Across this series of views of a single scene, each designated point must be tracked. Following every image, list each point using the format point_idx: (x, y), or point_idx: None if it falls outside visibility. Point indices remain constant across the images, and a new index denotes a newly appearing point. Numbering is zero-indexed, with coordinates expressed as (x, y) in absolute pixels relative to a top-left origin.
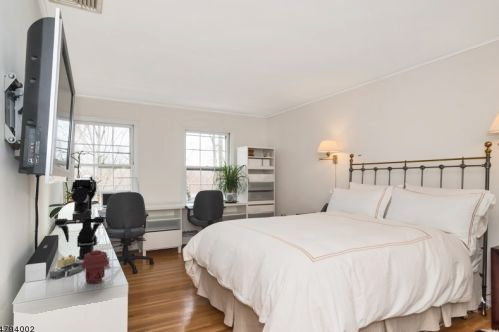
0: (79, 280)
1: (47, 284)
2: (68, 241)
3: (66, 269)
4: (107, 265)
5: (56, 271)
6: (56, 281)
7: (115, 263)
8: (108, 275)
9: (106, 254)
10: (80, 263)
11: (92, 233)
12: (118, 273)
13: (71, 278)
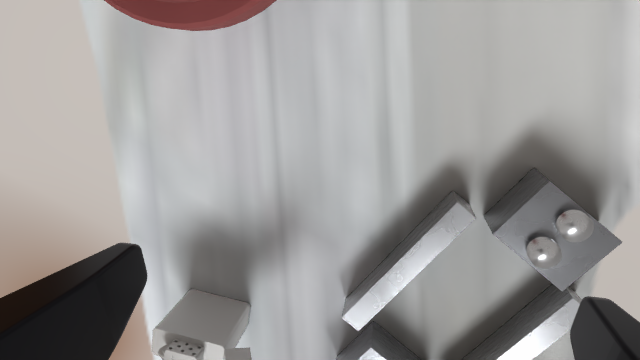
0: (370, 16)
1: (616, 24)
2: (574, 341)
3: (476, 350)
4: (195, 293)
5: (565, 208)
6: (545, 77)
7: (150, 328)
8: (168, 48)
9: None
10: (376, 351)
11: (5, 320)
12: (104, 65)
13: (432, 104)
